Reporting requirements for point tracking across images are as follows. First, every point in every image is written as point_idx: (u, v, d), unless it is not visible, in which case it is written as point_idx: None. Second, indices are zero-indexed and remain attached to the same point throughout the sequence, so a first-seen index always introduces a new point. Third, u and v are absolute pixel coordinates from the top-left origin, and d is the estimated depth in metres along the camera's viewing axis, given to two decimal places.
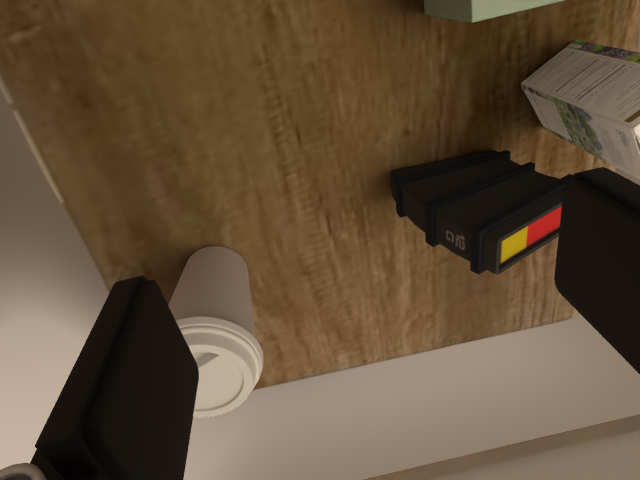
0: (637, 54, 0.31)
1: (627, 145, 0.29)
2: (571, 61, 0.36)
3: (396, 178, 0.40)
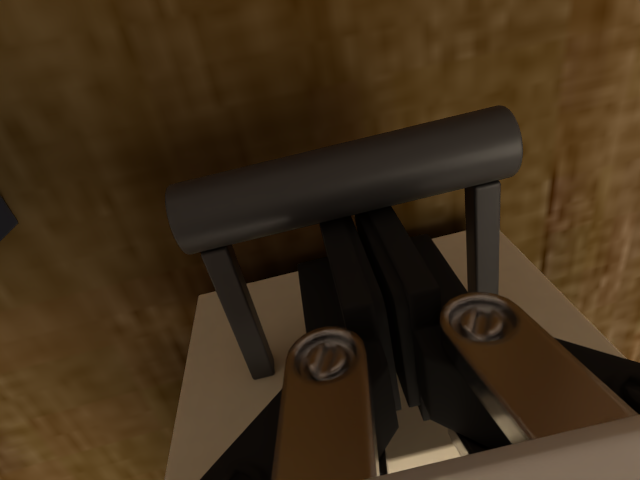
0: None
1: None
2: None
3: None
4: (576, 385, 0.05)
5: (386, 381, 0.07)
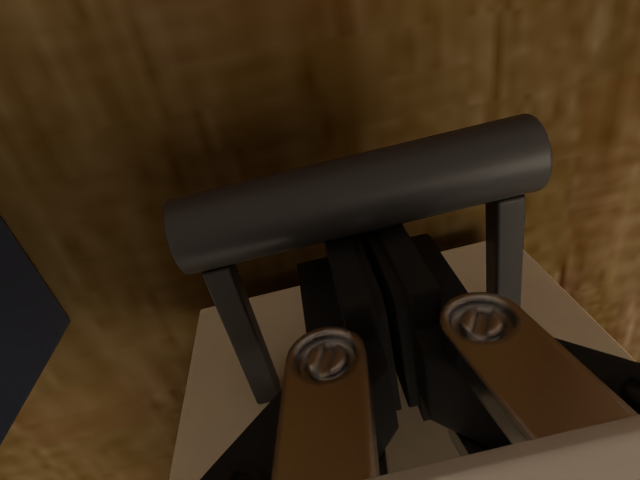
0: None
1: None
2: None
3: None
4: (576, 385, 0.05)
5: (386, 381, 0.07)
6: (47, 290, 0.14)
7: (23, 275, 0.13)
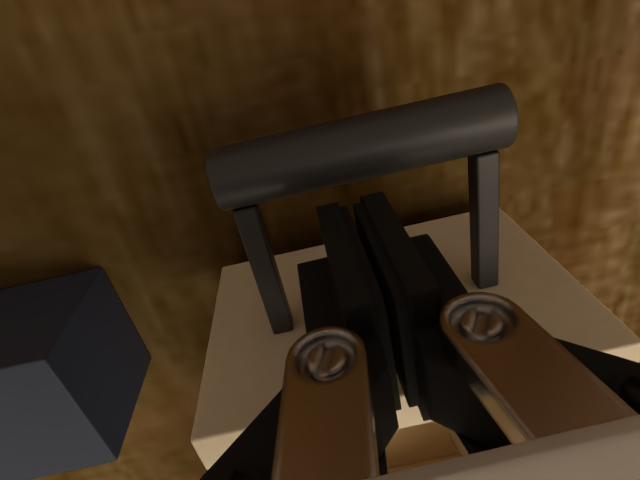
0: None
1: None
2: None
3: None
4: (576, 385, 0.05)
5: (386, 381, 0.07)
6: (137, 335, 0.19)
7: (124, 325, 0.18)
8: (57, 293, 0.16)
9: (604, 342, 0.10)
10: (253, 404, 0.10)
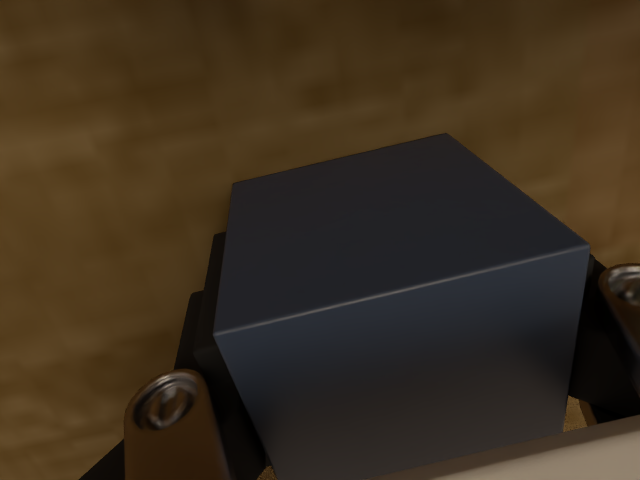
0: None
1: None
2: None
3: None
4: None
5: (238, 425, 0.07)
6: (384, 149, 0.10)
7: (344, 167, 0.09)
8: None
9: None
10: None
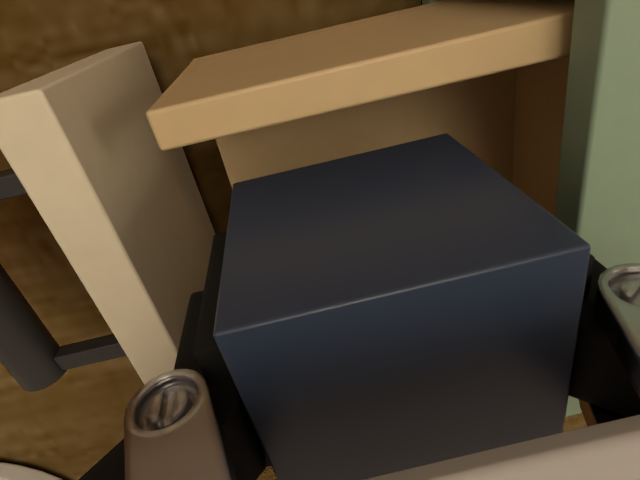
0: None
1: None
2: None
3: None
4: None
5: (238, 425, 0.07)
6: (384, 149, 0.10)
7: (345, 167, 0.09)
8: None
9: None
10: None
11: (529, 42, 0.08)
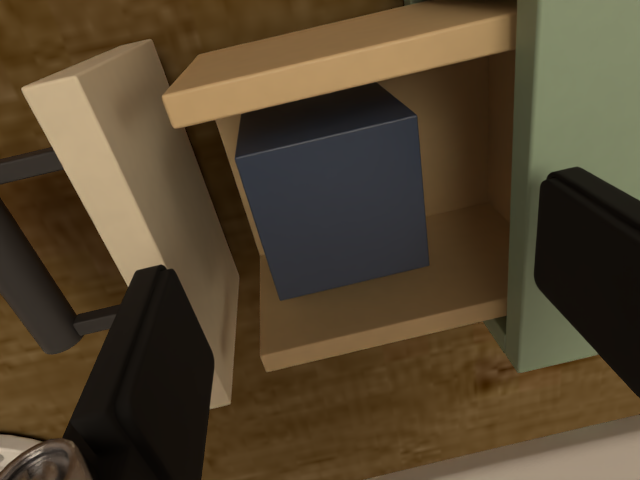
0: None
1: None
2: None
3: None
4: None
5: None
6: None
7: (309, 99, 0.15)
8: None
9: None
10: None
11: (482, 37, 0.10)
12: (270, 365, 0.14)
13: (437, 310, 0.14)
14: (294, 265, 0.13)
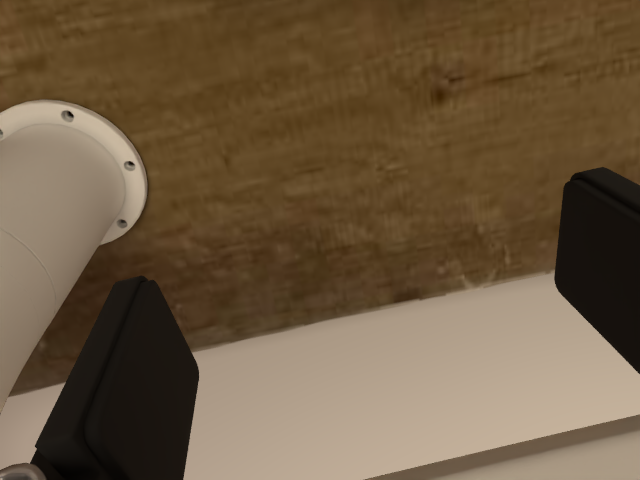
0: None
1: None
2: None
3: None
4: None
5: None
6: None
7: None
8: None
9: None
10: None
11: None
12: None
13: None
14: None
